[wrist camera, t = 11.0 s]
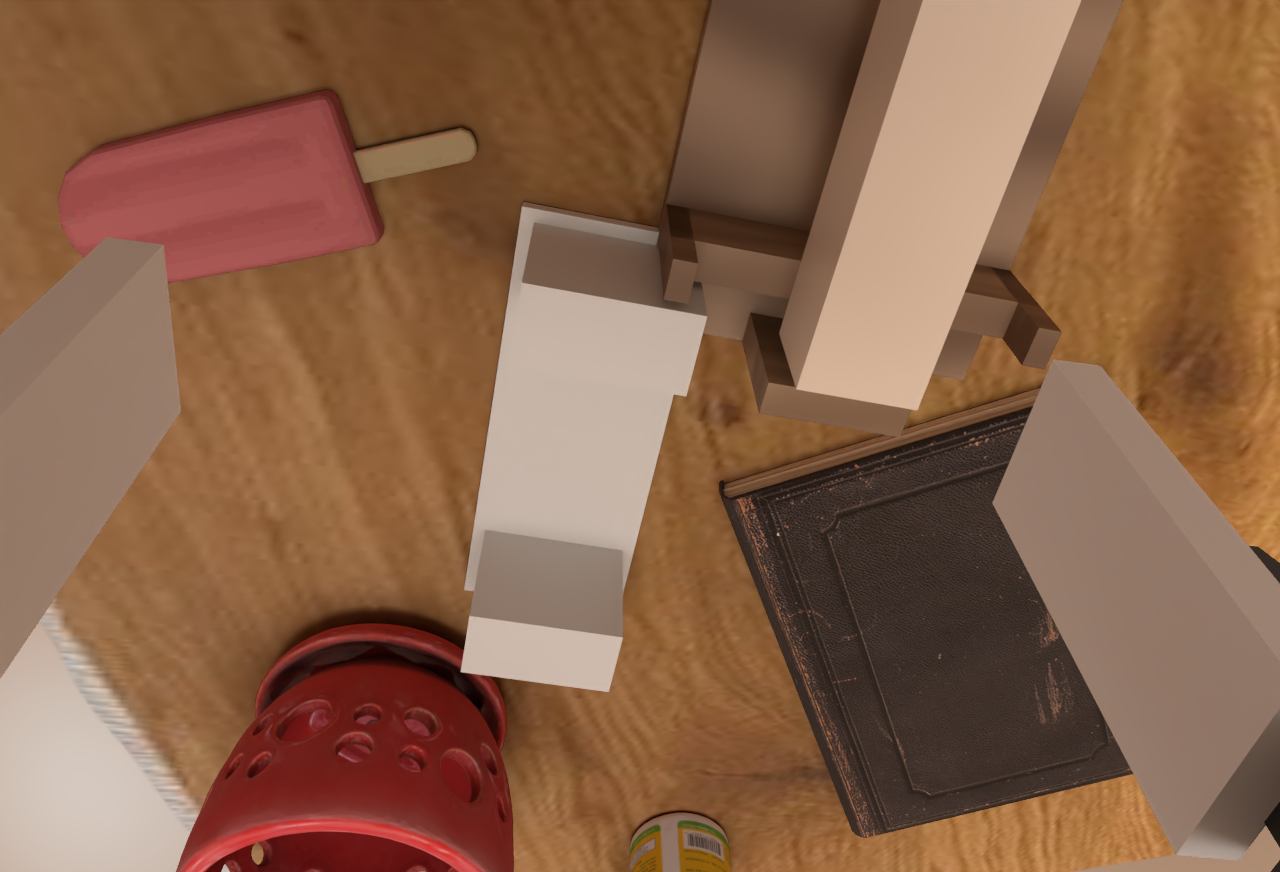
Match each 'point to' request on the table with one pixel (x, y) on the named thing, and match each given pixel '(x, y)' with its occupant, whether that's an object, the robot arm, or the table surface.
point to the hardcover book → (919, 624)
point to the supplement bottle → (680, 845)
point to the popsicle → (245, 186)
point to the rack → (795, 177)
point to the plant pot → (364, 764)
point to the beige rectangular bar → (916, 189)
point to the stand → (572, 445)
